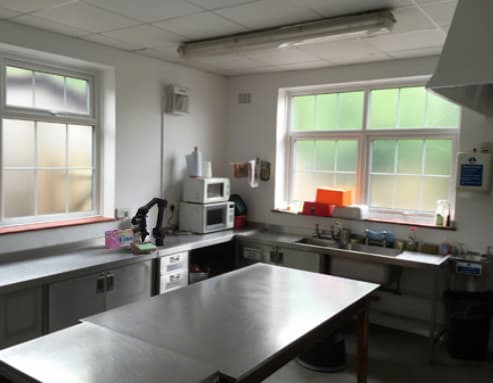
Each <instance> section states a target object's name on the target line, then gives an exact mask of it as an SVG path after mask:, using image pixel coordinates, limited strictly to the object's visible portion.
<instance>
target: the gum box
mask: <svg viewBox="0 0 493 383" xmlns="http://www.w3.org/2000/svg"><path fill="white" fill-rule="evenodd" d="M132 229H133V228H132ZM132 229H131V228H129V227H127V228H121V229H113V230H106V231H104V246H105V248H106V249H109V250H111V249H116V248H122V247H128V246H129V247H130V243H133V244H135V242H134V238H135V237H134V233H133V232H132Z"/></svg>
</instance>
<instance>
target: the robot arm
mask: <svg viewBox="0 0 493 383" xmlns="http://www.w3.org/2000/svg"><path fill="white" fill-rule="evenodd" d="M155 205H156V206H157V216H156V223H155V227H153V228H152V236H153V239H154V244H155V245H156V247H163V246H165V244H164V241H165V240H164V239H165V238H166V235H165V233H164V229H163V221H164V214H165V210H166V208H167V207H168V200H167V199H165V198H160V197H153V198H152V199H150V201H149V202H148V203H146V204H145V205H143V206H140V207H139V208H138V209H137V211H136V213H135V215H134V216H132V218H131V219H130V223H131V225H132V226H136V227H133V228H132V232H133V235H134V234H138V235H139V236H140V237H139V238H140V239H141V242H146V239H147V236H148V237H149V236H150V232H149V231H148V230H147V227H148V224H147V218H149V216H148V213H149V212H150V210H151V209H152V208H153V207H154V206H155Z"/></svg>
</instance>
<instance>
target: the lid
mask: <svg viewBox="0 0 493 383" xmlns="http://www.w3.org/2000/svg"><path fill="white" fill-rule="evenodd" d="M147 242H148V241H144V242H142V241H140V242H138V243H139V244H137V245H136V246H137V247H138V248H139V249H140V250H146V249H156V250H157V249H158V246H154V245H153V244H151V243H148V244H147Z"/></svg>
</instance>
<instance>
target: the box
mask: <svg viewBox="0 0 493 383" xmlns="http://www.w3.org/2000/svg"><path fill="white" fill-rule="evenodd" d="M146 242H147V244H148V243H151V244H153V245H154V246H156V245H155V242H152V241H150V240H148V241H146ZM137 244H139V242H136V243H135V242H134V244H133V243H130V246H129V248H130V250H131V251H133V252H134V253H135V254H140V253H149V252H150V251H152V252H157V248H156V249H146V250H140V249H139V248H138V247H137V246H136V245H137ZM156 247H157V246H156Z"/></svg>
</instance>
